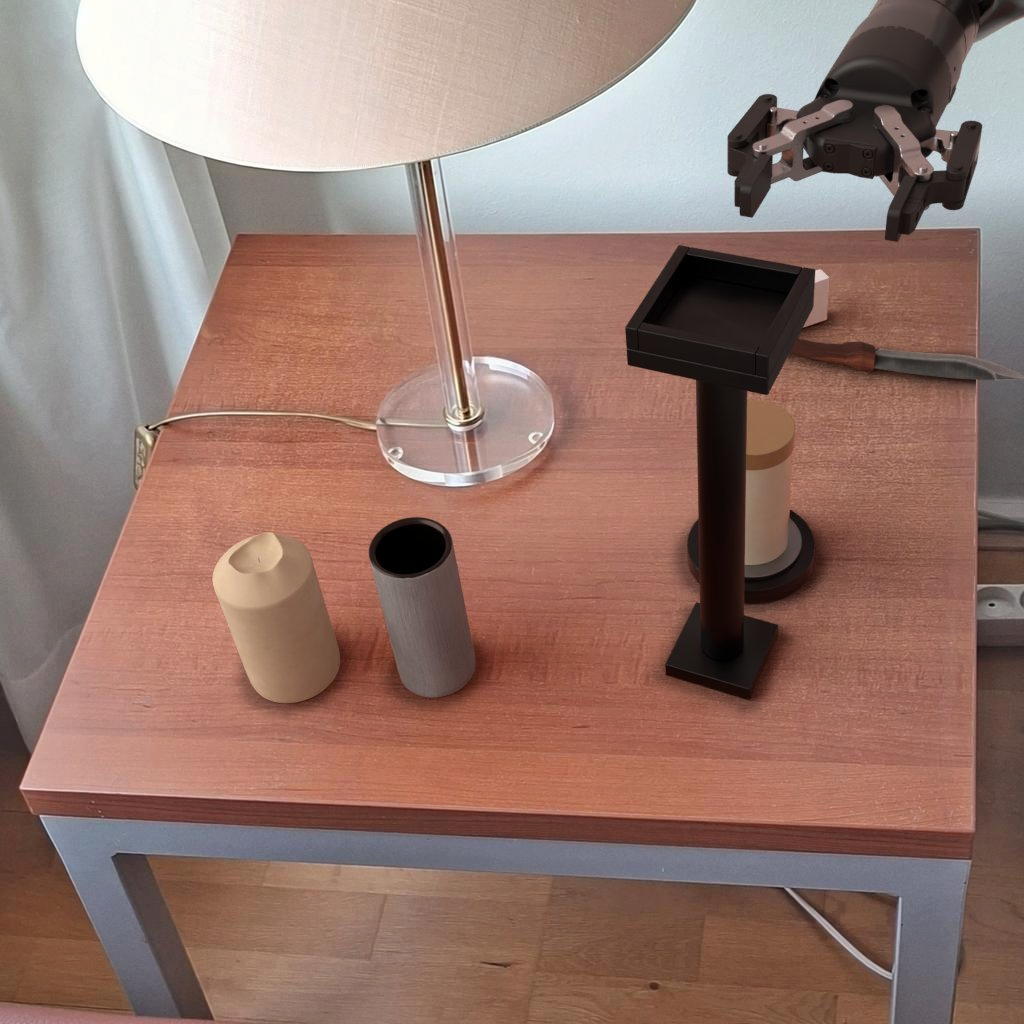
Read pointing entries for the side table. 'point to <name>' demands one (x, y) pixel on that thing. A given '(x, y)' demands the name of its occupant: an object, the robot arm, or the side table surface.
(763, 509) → the spice jar
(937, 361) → the knife
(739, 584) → the stand
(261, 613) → the candle
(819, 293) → the eraser
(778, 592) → the plate
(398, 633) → the planter
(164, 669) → the side table surface
